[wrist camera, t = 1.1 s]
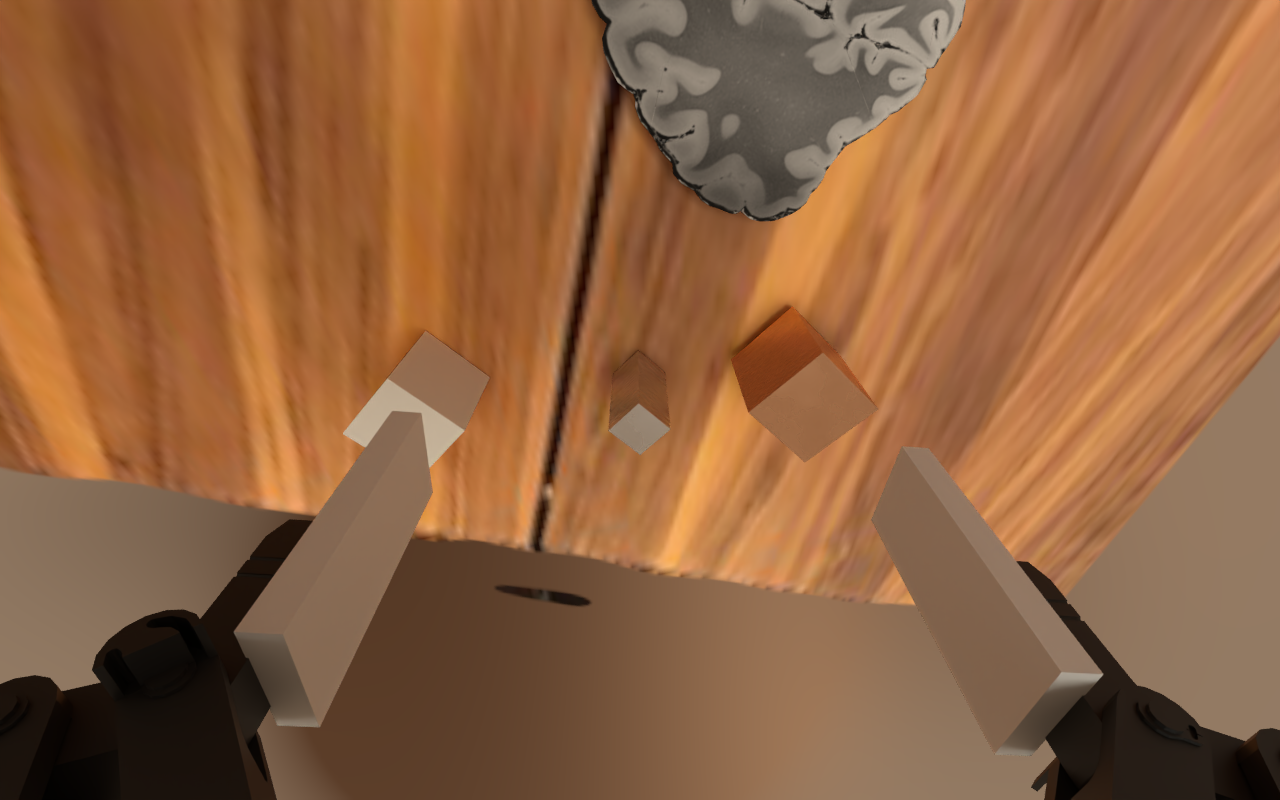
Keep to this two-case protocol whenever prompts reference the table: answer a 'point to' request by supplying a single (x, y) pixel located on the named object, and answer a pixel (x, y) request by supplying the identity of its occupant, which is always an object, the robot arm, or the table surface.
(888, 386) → the table surface
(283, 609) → the robot arm
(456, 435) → the cream sugar cube
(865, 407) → the tan brown block
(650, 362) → the post
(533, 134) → the table surface
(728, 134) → the brain slice
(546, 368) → the table surface
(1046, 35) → the table surface
